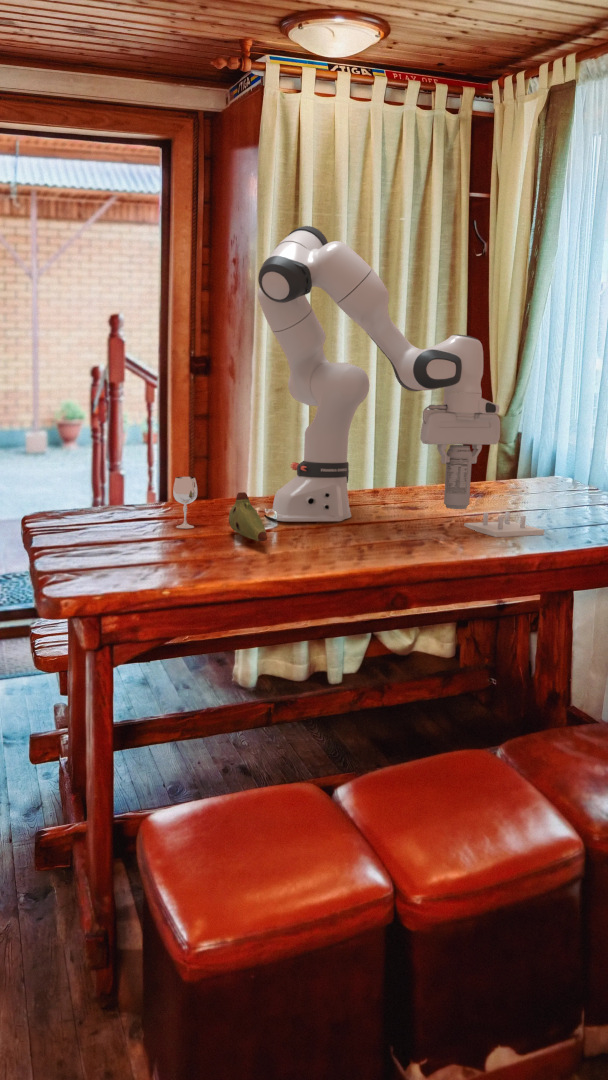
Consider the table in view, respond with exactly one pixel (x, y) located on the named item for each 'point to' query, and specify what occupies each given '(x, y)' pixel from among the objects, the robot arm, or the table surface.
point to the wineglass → (185, 494)
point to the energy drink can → (458, 477)
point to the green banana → (246, 519)
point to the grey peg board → (504, 527)
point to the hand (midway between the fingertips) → (458, 463)
